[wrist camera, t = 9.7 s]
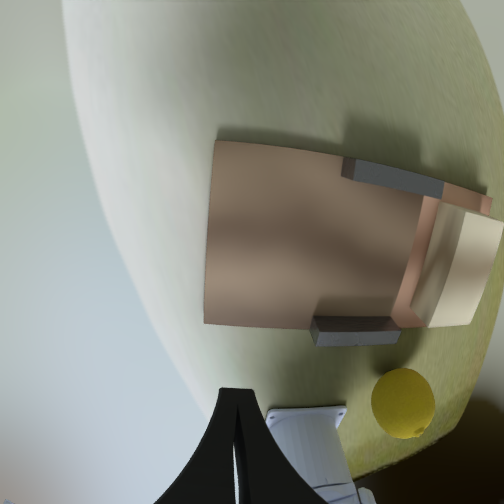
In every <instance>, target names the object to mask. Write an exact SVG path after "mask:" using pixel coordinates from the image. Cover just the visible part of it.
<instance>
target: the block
mask: <svg viewBox="0 0 504 504" xmlns="http://www.w3.org/2000/svg"><path fill="white" fill-rule="evenodd" d="M503 227H504V222H502V221H499V220H497V219H495V218H493V217H490V216H488V215H486V214H483V213H481V212H478V211H475V210H471V209H468V208H464V207H460V206H457V205H453V204H449V203H445V202H441V201H439V206H438V211H437V215H436V220H435V224H434V228H433V232H432V236H431V240H430V244H429V247H428V251H427V255H426V258H425V261H424V265H423V268H422V271H421V274H420V278H419V281H418V284H417V287H416V290H415V293H414V295H413V298H412V301H411V304H410V308H411V309H412V310H413V311H414V312H415V314H416V315H417V316H418V317H419V318H420V319H421V320H422V321H423V322H424V324H425V325H426V326H427V327H428V328H430V327H443V326H455V325H465V324H470V322H471V320H472V318H473V315H474V313H475V311H476V308H477V306H478V304H479V301H480V299H481V296H482V294H483V291H484V288H485V286H486V283H487V280H488V277H489V274H490V272H491V269H492V266H493V262H494V259H495V256H496V253H497V249H498V246H499V242H500V239H501V235H502V231H503Z"/></svg>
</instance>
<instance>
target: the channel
mask: <svg viewBox="0 0 504 504" xmlns="http://www.w3.org/2000/svg"><path fill="white" fill-rule="evenodd" d="M341 177H344V178H347V179H350V180H353V181H358V182H363V183H369V184H374V185H379V186H384V187H389V188H393V189H398V190H403V191H407V192H411V193H416V194H420V195H424V196H428V197H432V198H436V199H440V200H441V199H442V194H443V189H444V183H445V181H442V180H439V179H435V178H432V177H428V176H425V175H421V174H418V173H414V172H410V171H406V170H403V169H399V168H395V167H391V166H386V165H382V164H378V163H373V162H369V161H364V160H360V159H354V158H348V157H343V163H342V170H341ZM309 330H310V332H311V335H312V338H313V341H314V343H315V346H363V345H383V344H396V343H397V340H398V338H399V336H400V333H401V329H400V328H399V327H398V325H397V324H396V323H395V321H394V320H393V319H392V318H391V316H313V317H312V321H311V325H310V329H309Z"/></svg>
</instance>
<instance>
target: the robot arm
mask: <svg viewBox="0 0 504 504" xmlns="http://www.w3.org/2000/svg"><path fill="white" fill-rule="evenodd" d="M346 411H347V407H346V406H332V407H318V408H297V409H271V410H269V411H268V413H267V417H266V421H265V420H264V418H263V416H262V413H261V411H260V408H259V406H258V403H257V400H256V397H255V393H254V390H252V389H240V388H223V387H222V388H220V389H219V394H218V399H217V403H216V406H215V409H214V412H213V415H212V417H211V420H210V422H209V425H208V427H207V429H206V431H205V433H204V436H203V437H202V439H201V441H200V443H199V445H198V447H197V449H196V450H195V452H194V454H193V455H192V457H191V458H190V460H189V462H188V463H187V465H186V466H185V467H184V469H183V470H182V472H181V473H180V474H179V476H178V477H177V478H176V479H175V481H174V482H173V483H172V484H171V485H170V487H169V488H168V489H167V490H166V491H165V492H164V494H163V495H162V496H161V497H160V498H159V499H158V500H157V501H156V502H155V503H154V504H236V500H235V483H234V460H233V446H234V449H235V458H236V467H237V475H238V486H239V504H360V502H359V499H358V495H357V492H356V489H355V485H354V482H352V478H351V475H350V471H349V468H348V465H347V461H346V458H345V455H344V451H343V448H342V445H341V442H340V438H339V435H338V432H337V428H338V426H339V424H340V422H341V420H342V419H343V417H344V415H345V413H346ZM358 491H359V495H360V501H361V504H376V503H375V500H374V497H373V494H372V492H371V491H370V490H368V489H365V488H364V487H363V488H360V489H358ZM4 504H14V503H12V502H11V501H9V500H7V499H5V501H4Z"/></svg>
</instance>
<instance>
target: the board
mask: <svg viewBox="0 0 504 504" xmlns="http://www.w3.org/2000/svg"><path fill="white" fill-rule="evenodd" d="M342 163H343V157H342V156H337V155H331V154H326V153H320V152H314V151H308V150H301V149H294V148H287V147H280V146H272V145H263V144H254V143H244V142H233V141H221V140H215V146H214V156H213V167H212V179H211V191H210V204H209V219H208V234H207V251H206V271H205V296H204V324H215V325H228V326H242V327H260V328H282V329H310V325H311V321H312V317H313V316H391V318H392V319H393V320H394V321H395V323H396V324H397V325H398V327H399V328H415V327H427V326H426V325H425V324H424V322H423V321H422V320H421V319H420V318H419V317H418V316H417V315H416V314H415V312H414V311H413V310H412V309H411V308H410V304H411V301H412V298H413V295H414V293H415V290H416V287H417V284H418V281H419V278H420V274H421V271H422V268H423V265H424V261H425V258H426V255H427V251H428V247H429V244H430V240H431V236H432V232H433V228H434V224H435V220H436V215H437V211H438V206H439V201H441V202H445V203H449V204H453V205H457V206H460V207H464V208H468V209H471V210H475V211H478V212H481V213H483V214H486V215H488V216H489V213H490V208H491V203H492V198H491V197H488V196H486V195H483V194H480V193H477V192H474V191H471V190H469V189H466V188H463V187H460V186H456V185H453V184H450V183H447V182H445V183H444V189H443V194H442V199H441V200H440V199H436V198H432V197H428V196H424V195H420V194H416V193H411V192H407V191H403V190H398V189H393V188H389V187H384V186H379V185H374V184H369V183H363V182H358V181H353V180H350V179H347V178H344V177H341V170H342Z"/></svg>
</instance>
